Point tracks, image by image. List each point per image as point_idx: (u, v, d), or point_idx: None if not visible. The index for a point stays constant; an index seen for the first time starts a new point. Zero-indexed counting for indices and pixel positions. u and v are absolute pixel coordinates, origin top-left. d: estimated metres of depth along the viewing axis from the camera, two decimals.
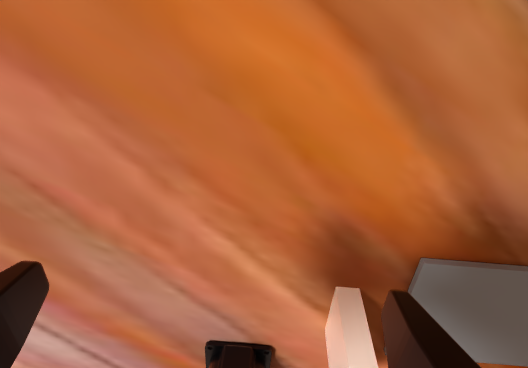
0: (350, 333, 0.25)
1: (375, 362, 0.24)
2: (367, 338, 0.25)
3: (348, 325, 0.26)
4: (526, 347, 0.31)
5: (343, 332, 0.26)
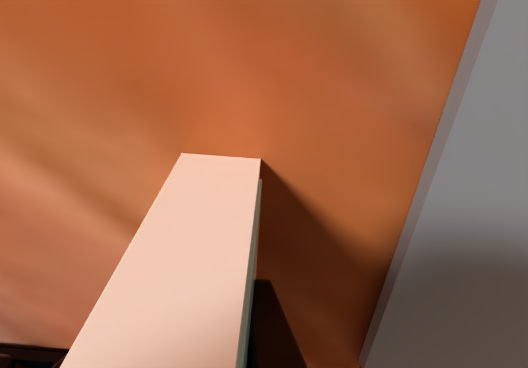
0: (140, 292, 0.05)
1: None
2: (220, 316, 0.05)
3: (151, 259, 0.05)
4: None
5: (110, 288, 0.05)
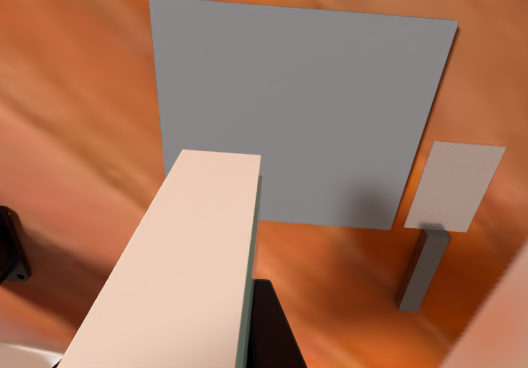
0: (142, 284, 0.05)
1: None
2: (221, 307, 0.05)
3: (152, 253, 0.06)
4: (369, 189, 0.20)
5: (112, 280, 0.05)
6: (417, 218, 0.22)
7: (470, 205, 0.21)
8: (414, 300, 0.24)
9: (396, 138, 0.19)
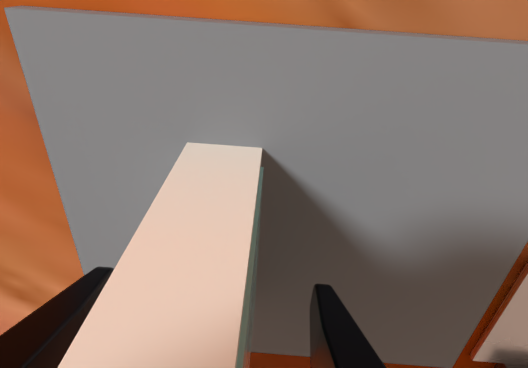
0: (153, 262, 0.05)
1: None
2: (226, 282, 0.05)
3: (161, 235, 0.06)
4: (424, 318, 0.12)
5: (124, 259, 0.06)
6: (495, 350, 0.14)
7: None
8: None
9: (479, 249, 0.11)
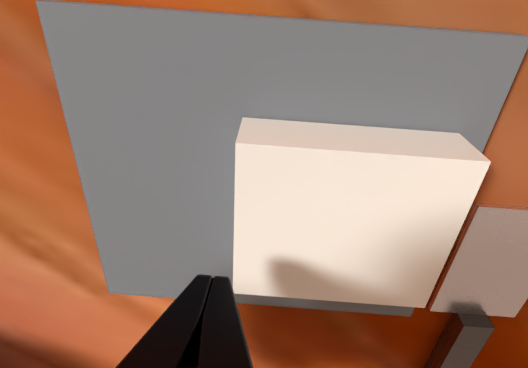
0: (390, 146, 0.10)
1: (444, 133, 0.11)
2: (390, 131, 0.11)
3: (369, 145, 0.10)
4: None
5: (391, 156, 0.09)
6: (449, 301, 0.16)
7: (524, 286, 0.15)
8: None
9: None
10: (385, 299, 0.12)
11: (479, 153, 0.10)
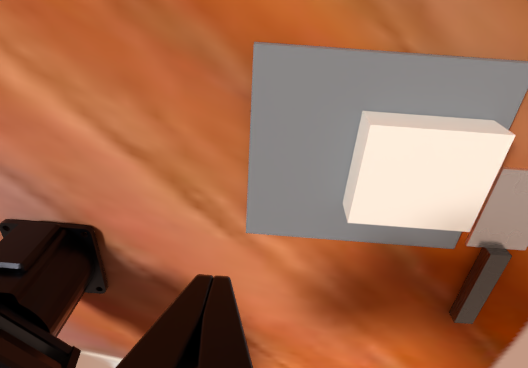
0: (456, 127, 0.17)
1: (485, 120, 0.18)
2: (452, 119, 0.18)
3: (444, 126, 0.17)
4: None
5: (458, 132, 0.17)
6: (480, 238, 0.23)
7: None
8: (471, 313, 0.26)
9: None
10: (445, 226, 0.20)
11: (508, 131, 0.17)
